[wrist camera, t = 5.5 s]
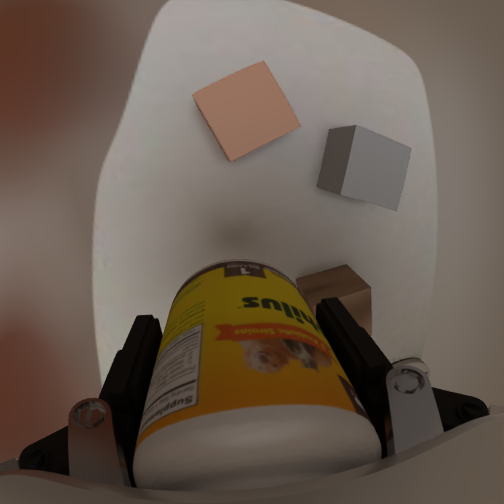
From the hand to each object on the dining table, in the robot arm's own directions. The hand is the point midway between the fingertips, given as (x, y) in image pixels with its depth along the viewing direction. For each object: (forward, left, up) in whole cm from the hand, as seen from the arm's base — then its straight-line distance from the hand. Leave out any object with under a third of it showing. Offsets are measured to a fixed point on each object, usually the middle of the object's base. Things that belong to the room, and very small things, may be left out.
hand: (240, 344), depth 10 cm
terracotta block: (+9, -2, -15) cm, 17 cm away
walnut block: (-7, -9, -15) cm, 18 cm away
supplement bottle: (0, 0, -2) cm, 2 cm away
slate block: (+5, -11, -15) cm, 19 cm away
